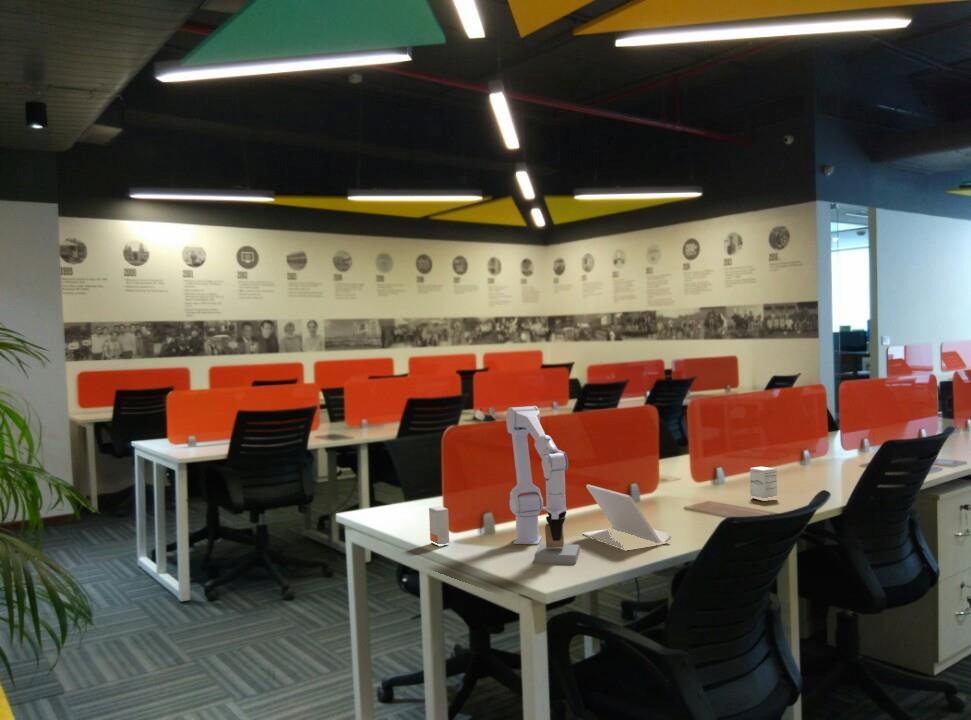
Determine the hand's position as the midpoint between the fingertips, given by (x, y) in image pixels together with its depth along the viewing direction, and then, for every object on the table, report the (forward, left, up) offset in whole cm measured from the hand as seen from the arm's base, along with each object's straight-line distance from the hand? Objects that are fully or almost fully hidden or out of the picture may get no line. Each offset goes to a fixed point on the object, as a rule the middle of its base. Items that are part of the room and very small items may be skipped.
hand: (557, 538), depth 229 cm
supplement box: (-90, +71, -6) cm, 115 cm away
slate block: (0, 0, -6) cm, 6 cm away
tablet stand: (-24, +19, -6) cm, 32 cm away
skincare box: (-12, -40, -6) cm, 42 cm away
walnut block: (0, -1, -2) cm, 2 cm away
